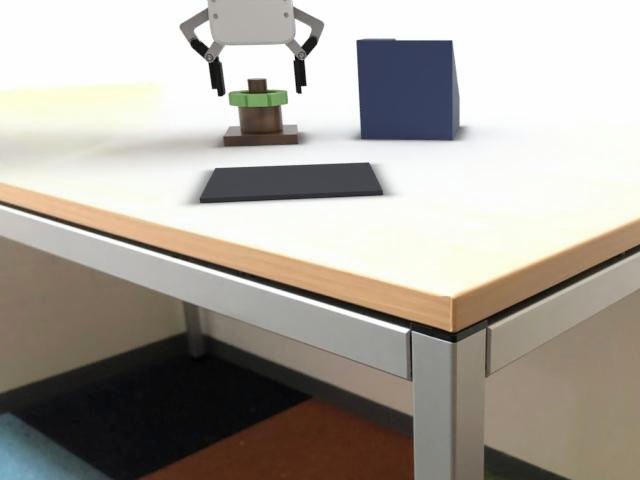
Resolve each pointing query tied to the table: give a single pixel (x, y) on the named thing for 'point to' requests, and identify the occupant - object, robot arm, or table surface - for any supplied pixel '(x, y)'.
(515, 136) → the table surface
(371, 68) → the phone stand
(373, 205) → the table surface
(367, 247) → the table surface
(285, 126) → the stand
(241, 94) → the ring
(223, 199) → the mat
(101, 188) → the table surface
